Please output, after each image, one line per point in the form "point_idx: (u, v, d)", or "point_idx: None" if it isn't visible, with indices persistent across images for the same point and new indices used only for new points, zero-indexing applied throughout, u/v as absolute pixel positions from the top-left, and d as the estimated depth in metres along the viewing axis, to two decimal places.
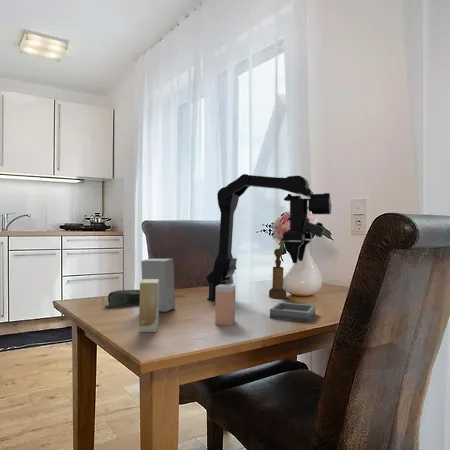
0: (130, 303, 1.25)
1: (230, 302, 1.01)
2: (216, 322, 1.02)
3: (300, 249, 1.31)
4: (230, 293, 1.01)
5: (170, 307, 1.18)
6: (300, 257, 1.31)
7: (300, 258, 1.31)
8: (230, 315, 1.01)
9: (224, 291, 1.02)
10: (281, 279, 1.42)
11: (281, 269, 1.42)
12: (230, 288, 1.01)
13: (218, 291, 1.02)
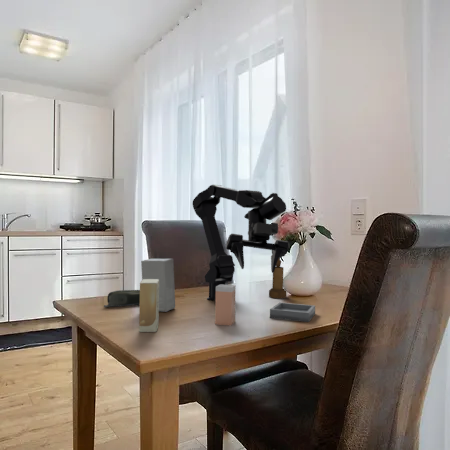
0: (130, 303, 1.25)
1: (230, 302, 1.01)
2: (216, 322, 1.02)
3: (272, 261, 1.16)
4: (230, 293, 1.01)
5: (170, 307, 1.18)
6: (272, 268, 1.15)
7: (272, 269, 1.14)
8: (230, 315, 1.01)
9: (224, 291, 1.02)
10: (281, 279, 1.42)
11: (281, 269, 1.42)
12: (230, 288, 1.01)
13: (218, 291, 1.02)
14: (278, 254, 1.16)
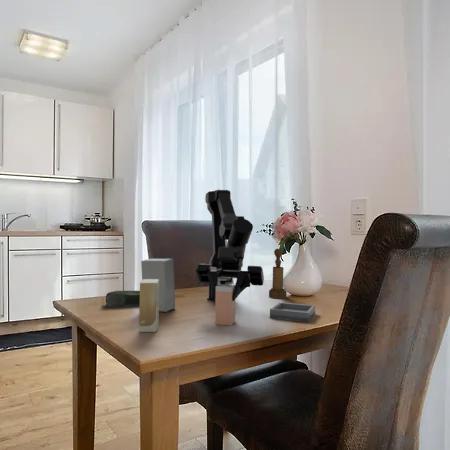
0: (128, 304, 1.24)
1: (230, 302, 1.01)
2: (216, 322, 1.02)
3: None
4: (230, 293, 1.01)
5: (170, 307, 1.18)
6: None
7: None
8: (230, 315, 1.01)
9: (224, 291, 1.02)
10: (281, 279, 1.42)
11: (281, 269, 1.42)
12: (230, 288, 1.01)
13: (218, 291, 1.02)
14: (240, 280, 1.04)
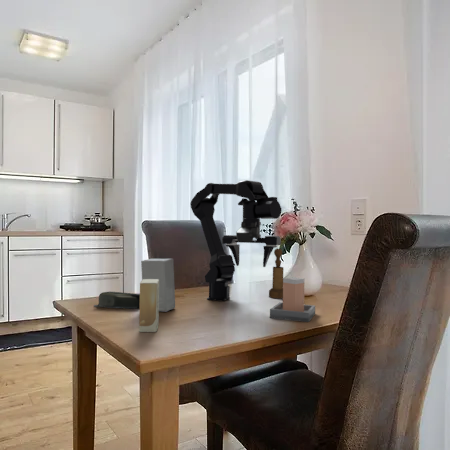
0: (117, 306, 1.20)
1: (303, 292, 1.13)
2: None
3: None
4: (303, 284, 1.13)
5: (170, 307, 1.18)
6: None
7: None
8: (303, 303, 1.13)
9: (300, 283, 1.12)
10: (281, 279, 1.42)
11: (281, 269, 1.42)
12: (303, 279, 1.13)
13: (296, 284, 1.10)
14: (267, 251, 1.23)
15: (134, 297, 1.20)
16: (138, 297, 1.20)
